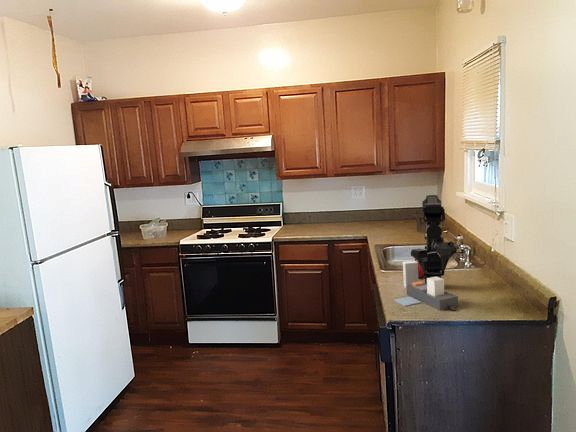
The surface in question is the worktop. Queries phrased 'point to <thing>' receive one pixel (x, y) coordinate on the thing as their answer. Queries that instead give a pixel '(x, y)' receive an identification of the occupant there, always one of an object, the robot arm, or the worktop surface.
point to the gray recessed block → (432, 297)
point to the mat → (407, 301)
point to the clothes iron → (419, 223)
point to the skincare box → (410, 272)
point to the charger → (435, 286)
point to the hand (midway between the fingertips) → (434, 271)
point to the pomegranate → (419, 270)
